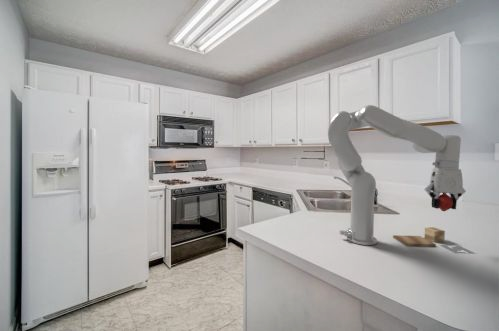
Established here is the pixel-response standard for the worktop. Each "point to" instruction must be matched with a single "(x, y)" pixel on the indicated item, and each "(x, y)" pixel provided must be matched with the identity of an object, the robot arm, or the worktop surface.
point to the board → (414, 241)
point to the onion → (445, 202)
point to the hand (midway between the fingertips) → (443, 207)
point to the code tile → (457, 249)
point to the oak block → (434, 234)
